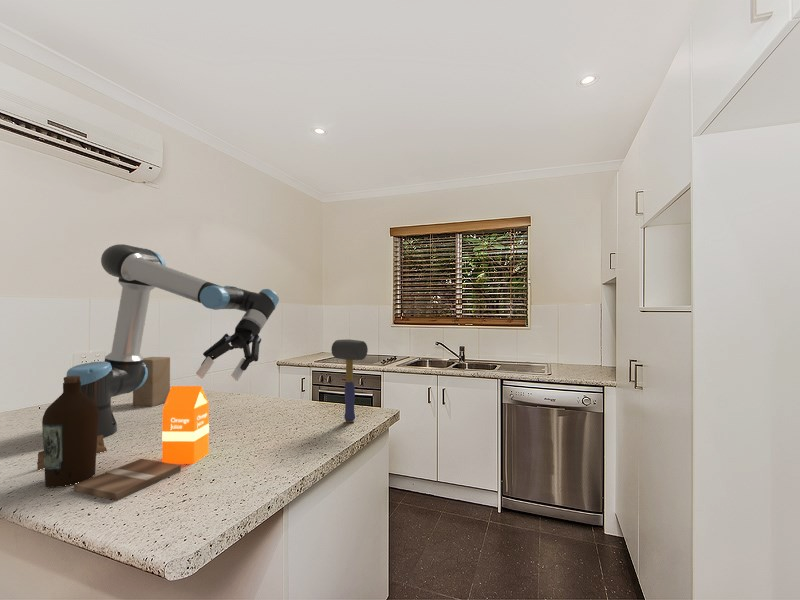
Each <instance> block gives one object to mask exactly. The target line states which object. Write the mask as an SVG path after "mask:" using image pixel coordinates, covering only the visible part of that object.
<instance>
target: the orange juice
mask: <svg viewBox="0 0 800 600" xmlns="http://www.w3.org/2000/svg"><path fill="white" fill-rule="evenodd" d="M209 411H210V402H209V400H208V399H207V397H206V394H205V392H204V389H203V387H202V385H179V386H178V385H172V386H171V385H170V392H169V394H168V397H167V399H166V402H165V403H164V405H163V407H162V432H161V437H162V438H161V441H162V448H161V449H162V450H161V451H162V452H161V454H162V455H161V456H162V458H161V462H165V463H171V464H177V465H182V464H183V465H184V464H186V465H188V464H189V465H194V464H196V463H197V462H198V461H201V460H202V459H203V458H204V457H206V456H207V455H208V454H210V452H209V451H210V448H209V446H210V444H209V443H210V440H209V439H210V436H209V435H210V422H209V421H210V420H209V419H210V412H209Z"/></svg>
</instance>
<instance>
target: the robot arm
mask: <svg viewBox="0 0 800 600" xmlns="http://www.w3.org/2000/svg"><path fill="white" fill-rule="evenodd" d="M100 263H101V266H102V268H103V270H104V271H105V272H106V273H107V274H108V275H110V276H112V277H115V278H118V281H117V282H118V284H119V285H120V286H121V287H122V288H121V293H120V294H121V295H120V300H119V307H118V312H117V318H116V322H115V327H114V328H115V329H114V330H115V331H114V335H113V339H112V345H111V351H110V353H108V354H107V355H105V357H104V361H91V362H87V363H81V364H77V365H74V366H72V367H70V368H68V370H67V371H66V375H65V377H68V376H80V381H81V392H83V393H84V394H85V395H86V396H88V397H89V398H90V399H92V400H93V401H94V402H95V403H96V404H97V407H98V410H99V421H98V434H97V436H98V435H102V434H103V438H105V437H108V436H111V435H113V434H115V433H116V432H117V431H118V423H117V420H116V418H115V416H114V414H113V412H112V411H113V410H112V408H111V407H112V405H111V403H112V398H113V397H117V396H120V395H125V394H129V393H133V391H134V390H136V389H138V388H140V387H141V386H142V385H143V384H144V383H145V381H146V379H147V376H148V370H147V368H146V367H145V366H146V365H145V364H144V363H143V358H144V357H143V356H142V354H141V353H140V352H141V347H142V342H143V335H144V329H145V326H146V325H145V324H146V317H147V312H148V307H149V303H150V302H149V300H150V296H151V295H150V294H151V291H152V290H154V289H155V288H157V289H160V290H163V291H165V292H169V293H172V294H174V295H176V296H179V297H182V298H186V299H188V300H190V301H193V302H196V303H199V304H202V306H204V307H205V308H206V309H209V310H210V309H211V310H214V311H216V310H217V311H218V310H237V311H238V310H239V311H242V312H245V313H244V314H243V316H241V319H240V320H239V321H238V323H237V325H236V326H235V328H234V333H233V334H232V335H229V334H228V333H225V334H223V336H222V337H221V338H220V339H219V340H218V341H216V342H215V343H213V345H211V346H210V347H209V348H207V349H206V350H205V351H204V352H203V353H202V354H203V356H204V358H205V359H204V360H203V361H202V363H201V364H200V366H199V369H198V370H197V371H196V372H195V374H196V375H197V376H198V377H199V378H200V379H203V378H204V377H205V376H206V375H207V373H208V372H209V370H210V369H211V368H212V365H213V364H214V363H215V361H214V360H216V359H218V358H219V357H221V356H223V355H224V354H225V353H227V352H229V351H232V350H234V349H240V350H242V351H243V355H244V356H243V357H242V358H241V359H240V360H239V362H238V364H237V366H236V367H235V368H234V370H233V372H232V373H231V377H232V378H233V379H234V380H235V381H236V382H237V381H239V379H240V378H241V376H242V374H243V373H244V372H245V371H246V370H247V369H248V367H249V365H250V364H251V363H252V362H258V361H259V356H260V355H259V354H260V345H261V342H262V338H261V337H260V335H259V334H260V333H261V331H262V329H263V328H264V326H265V325H266V324H267V321H268V320H269V318H270V317H271V315H272V314H273V312H274V311H275V310H276V307H277V306H278V304H279V301H280V298H279V296H278V294H277V292H275V291H274V290H272V289H270V288H263V289H261V290H260V291H259V292H254V291H249V290H246V289H243V288H240V287H237V286H231V285H225V286H222V285H219V284H216V283H213V282H211V281H208V280H205V279H202V278H199V277H196V276H193V275H191V274H187V273H186V272H183V271H180V270H177V269H174V268H172V267H168V266H167V265H166V262H165V259H164V258H163V257H162V255H161V254H159V253H158V252H156V251H154V250H151V249H148V248H143V247H138V246H133V245H128V244H118V243H117V244H114V245H110V246H109V247H107V248H106V249H105V250H104V251H103V252H102V254H101V258H100ZM250 344H251V347H250ZM250 349H251V350H250Z"/></svg>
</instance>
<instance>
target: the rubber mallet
mask: <svg viewBox="0 0 800 600" xmlns="http://www.w3.org/2000/svg"><path fill="white" fill-rule="evenodd" d="M368 352H369V350H368V345H367V343H366V342H365V341H363V340H358V339H348V338H347V339H337V340H335V341H334V342H333V343H332V344H331V355H332V356H333V357H334V359H335V358H336V359H340V360H345V383H344V402H345V403H344V404H345V407H344V409H345V412H344V420H345V422H346V423H353V422H354V421H355V419H356V413H355V398H356V397H355V396H356V388H355V382H354V361H363V360H365V358H366V357H367V355H368Z"/></svg>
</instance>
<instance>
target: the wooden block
mask: <svg viewBox="0 0 800 600" xmlns="http://www.w3.org/2000/svg"><path fill="white" fill-rule="evenodd" d="M143 363H144V364H145V365H146V366H145V367H146V368H147V370H148V376H147V379H146V381H145V383H144V384H143V385H142V386H141V387H140V388H138V389H136V390H134V391H132V406H133V407H148V406H150V408H151V407H152V406H153V407H155V406H159V405H163V404H165V402H166V399H167V397H168V394H169V392H170V389H171V357H170V356H148V357H143ZM162 403H163V404H162ZM153 407H152V408H153Z"/></svg>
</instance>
